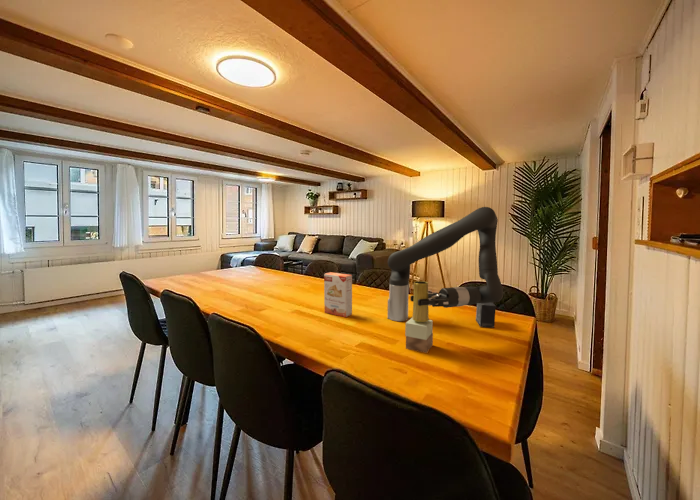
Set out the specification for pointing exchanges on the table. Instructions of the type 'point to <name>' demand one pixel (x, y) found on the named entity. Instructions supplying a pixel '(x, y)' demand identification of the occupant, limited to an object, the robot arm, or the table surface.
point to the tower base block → (419, 343)
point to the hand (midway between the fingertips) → (414, 300)
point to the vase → (419, 293)
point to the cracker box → (338, 294)
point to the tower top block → (418, 329)
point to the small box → (485, 314)
